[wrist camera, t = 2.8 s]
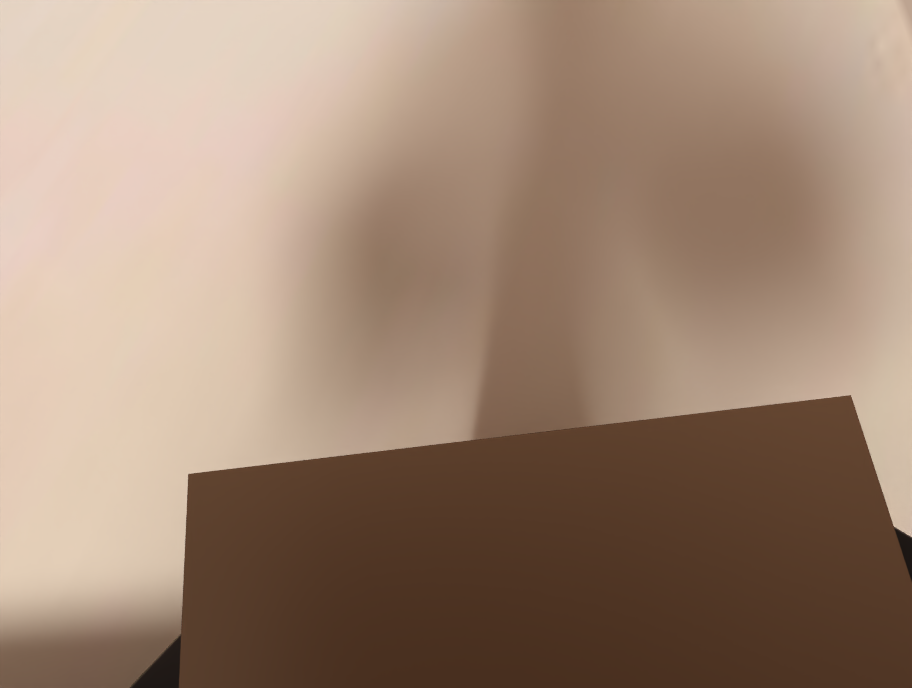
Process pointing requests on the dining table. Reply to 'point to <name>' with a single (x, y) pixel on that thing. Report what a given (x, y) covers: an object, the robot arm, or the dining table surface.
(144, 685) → the robot arm
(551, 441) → the walnut peg
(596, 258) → the dining table surface
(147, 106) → the dining table surface
